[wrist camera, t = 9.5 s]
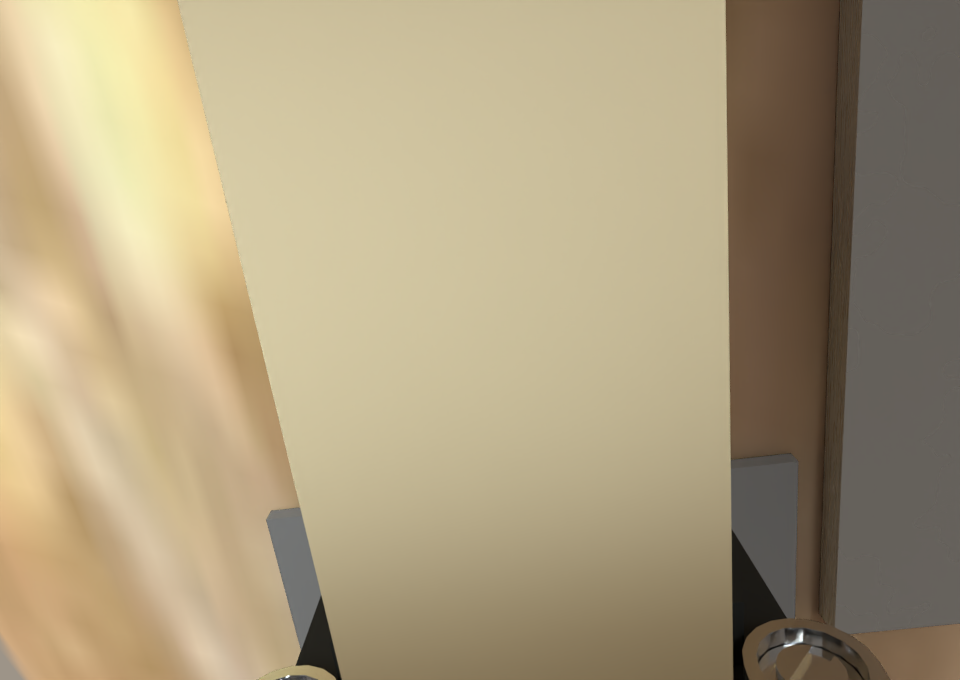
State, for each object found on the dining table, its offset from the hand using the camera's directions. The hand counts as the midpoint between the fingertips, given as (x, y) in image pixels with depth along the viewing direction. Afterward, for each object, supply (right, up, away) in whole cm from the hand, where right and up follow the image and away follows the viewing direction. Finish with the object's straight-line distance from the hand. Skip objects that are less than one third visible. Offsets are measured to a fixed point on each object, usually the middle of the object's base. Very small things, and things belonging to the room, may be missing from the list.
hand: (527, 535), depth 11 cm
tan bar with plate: (0, 0, +1) cm, 1 cm away
